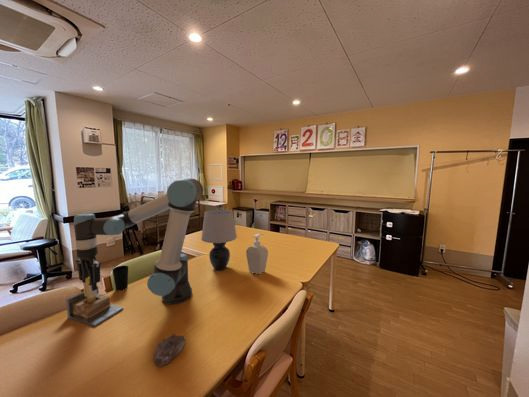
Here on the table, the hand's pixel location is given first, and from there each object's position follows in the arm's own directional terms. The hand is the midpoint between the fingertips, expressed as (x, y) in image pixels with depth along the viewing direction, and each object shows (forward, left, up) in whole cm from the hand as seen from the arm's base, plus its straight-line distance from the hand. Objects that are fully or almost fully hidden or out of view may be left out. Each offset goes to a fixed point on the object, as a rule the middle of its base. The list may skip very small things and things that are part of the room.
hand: (91, 295), depth 104 cm
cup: (+8, -21, -9) cm, 24 cm away
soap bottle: (-58, -68, -9) cm, 90 cm away
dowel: (0, 0, -5) cm, 5 cm away
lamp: (-31, -64, -9) cm, 72 cm away
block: (0, 0, -7) cm, 7 cm away
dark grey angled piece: (-3, 0, -8) cm, 9 cm away
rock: (-52, +7, -9) cm, 53 cm away
